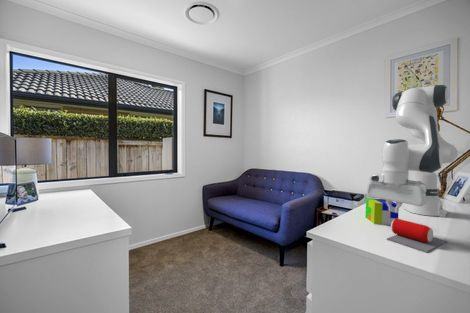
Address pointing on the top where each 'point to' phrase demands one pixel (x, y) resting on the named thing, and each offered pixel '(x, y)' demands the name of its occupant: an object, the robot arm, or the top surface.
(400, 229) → the beverage can
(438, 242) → the mat
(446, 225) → the top surface
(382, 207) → the puzzle toy
